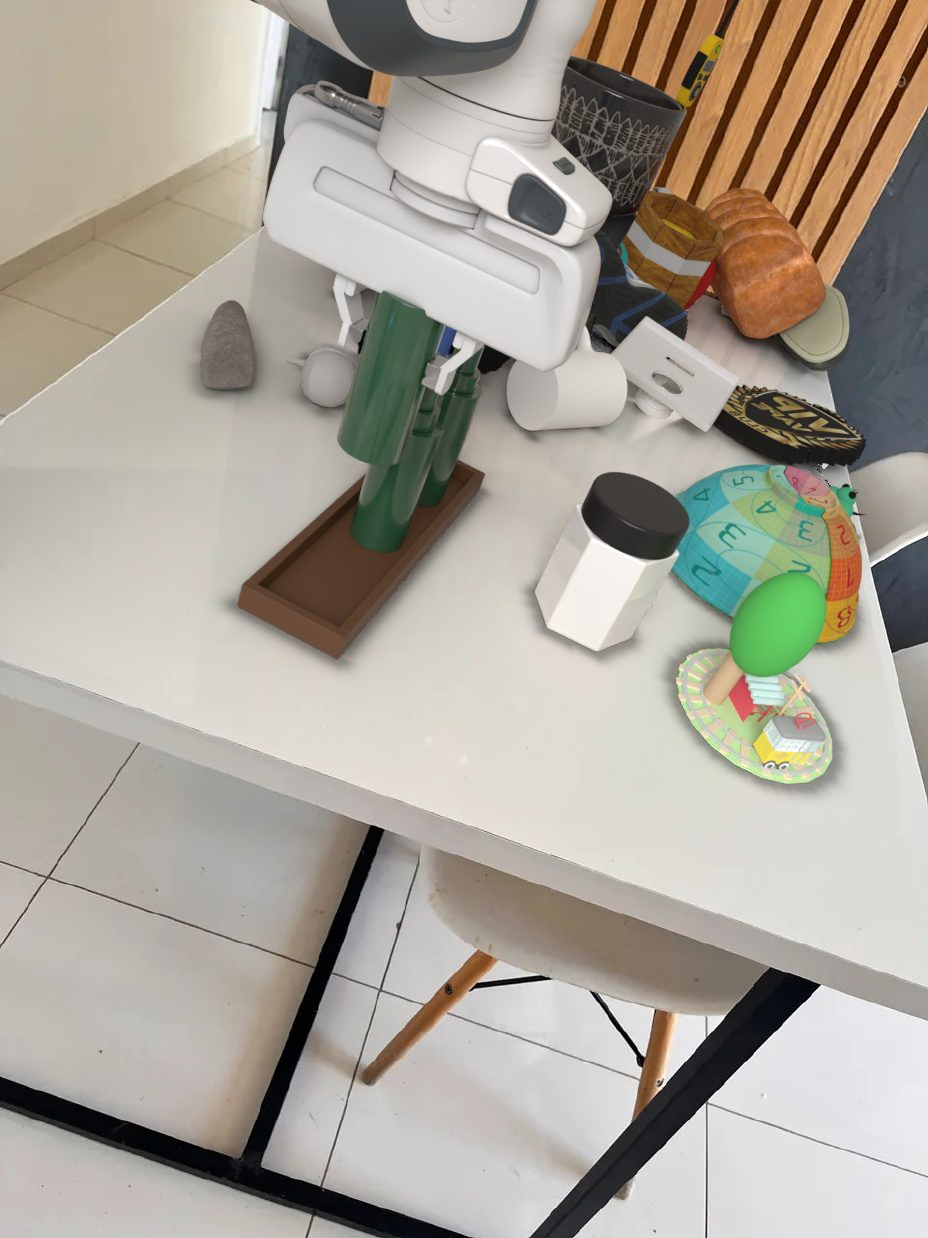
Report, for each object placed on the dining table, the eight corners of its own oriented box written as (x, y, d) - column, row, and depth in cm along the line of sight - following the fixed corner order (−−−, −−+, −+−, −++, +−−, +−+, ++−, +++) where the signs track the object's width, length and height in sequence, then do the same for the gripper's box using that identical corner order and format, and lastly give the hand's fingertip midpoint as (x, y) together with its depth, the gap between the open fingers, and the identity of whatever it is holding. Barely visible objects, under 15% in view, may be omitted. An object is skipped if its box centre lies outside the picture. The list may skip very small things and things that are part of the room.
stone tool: (208, 288, 98) (258, 290, 99) (211, 320, 101) (260, 322, 101) (194, 362, 86) (251, 363, 87) (198, 397, 88) (253, 398, 89)
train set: (954, 687, 65) (765, 613, 64) (843, 809, 73) (674, 745, 73) (911, 567, 77) (751, 503, 76) (820, 683, 85) (674, 627, 84)
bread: (783, 242, 163) (753, 158, 154) (837, 305, 143) (806, 212, 134) (706, 285, 167) (672, 205, 158) (748, 351, 147) (712, 264, 138)
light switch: (584, 395, 117) (684, 462, 116) (608, 356, 113) (711, 426, 112) (623, 351, 127) (714, 413, 126) (646, 315, 123) (740, 379, 122)
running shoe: (501, 263, 113) (461, 245, 122) (650, 395, 131) (606, 371, 140) (559, 179, 111) (514, 167, 120) (703, 325, 129) (655, 305, 138)
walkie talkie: (681, 108, 131) (745, -12, 122) (670, 101, 132) (732, -19, 123) (694, 109, 135) (756, -7, 126) (683, 102, 135) (744, -14, 126)
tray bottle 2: (385, 490, 85) (436, 335, 76) (406, 470, 89) (457, 320, 79) (431, 513, 84) (488, 360, 75) (450, 492, 88) (506, 344, 79)
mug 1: (553, 307, 97) (624, 310, 104) (502, 318, 104) (571, 320, 110) (560, 428, 99) (628, 423, 106) (509, 432, 106) (576, 427, 112)
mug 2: (680, 350, 140) (738, 259, 129) (598, 324, 136) (650, 229, 125) (655, 276, 152) (705, 188, 142) (578, 250, 148) (624, 158, 138)
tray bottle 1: (339, 534, 78) (389, 369, 69) (364, 511, 81) (414, 351, 72) (389, 560, 77) (446, 397, 68) (412, 535, 81) (468, 377, 72)
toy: (880, 511, 109) (817, 482, 105) (851, 544, 111) (788, 516, 107) (831, 453, 118) (772, 423, 114) (805, 484, 121) (746, 456, 116)
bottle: (324, 443, 63) (384, 217, 54) (355, 419, 67) (416, 204, 58) (386, 474, 63) (456, 252, 54) (413, 448, 66) (484, 236, 57)
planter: (469, 229, 148) (530, 41, 132) (571, 247, 158) (640, 75, 142) (525, 288, 136) (600, 90, 120) (632, 305, 146) (714, 123, 130)
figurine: (364, 346, 101) (379, 366, 90) (353, 396, 103) (366, 421, 92) (288, 327, 98) (293, 344, 88) (277, 379, 100) (281, 402, 90)
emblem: (794, 474, 113) (887, 459, 124) (802, 458, 112) (894, 445, 123) (679, 403, 124) (774, 396, 136) (685, 388, 123) (780, 381, 135)
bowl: (802, 568, 78) (741, 655, 84) (959, 558, 90) (896, 635, 96) (652, 416, 92) (609, 501, 98) (806, 425, 104) (759, 500, 110)
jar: (638, 614, 84) (702, 504, 77) (620, 666, 78) (688, 551, 70) (545, 569, 85) (600, 455, 78) (520, 617, 78) (578, 498, 71)
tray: (337, 660, 68) (344, 638, 66) (236, 606, 68) (241, 584, 67) (478, 491, 91) (485, 473, 90) (402, 452, 92) (408, 434, 91)
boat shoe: (866, 318, 136) (884, 374, 142) (805, 247, 159) (822, 297, 165) (794, 354, 140) (814, 407, 145) (744, 279, 162) (763, 328, 168)
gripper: (267, 70, 51) (225, 311, 60) (614, 230, 49) (520, 456, 58) (323, 63, 56) (277, 287, 65) (639, 209, 54) (549, 420, 63)
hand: (393, 368), depth 61 cm, fingers closed on bottle, 4 cm apart
